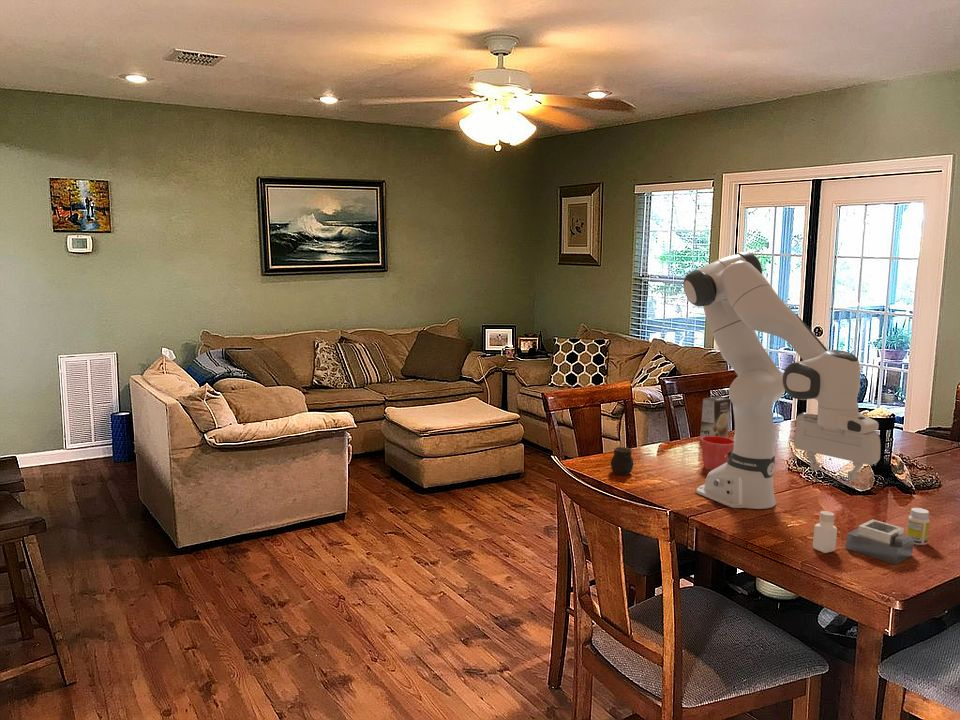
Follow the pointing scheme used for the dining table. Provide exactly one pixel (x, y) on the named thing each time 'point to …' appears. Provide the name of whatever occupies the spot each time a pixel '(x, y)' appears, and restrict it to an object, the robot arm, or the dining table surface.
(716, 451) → the flower pot
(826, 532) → the white bottle
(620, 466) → the mate gourd
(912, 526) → the supplement bottle
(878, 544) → the block
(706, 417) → the coffee box
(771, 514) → the dining table surface
